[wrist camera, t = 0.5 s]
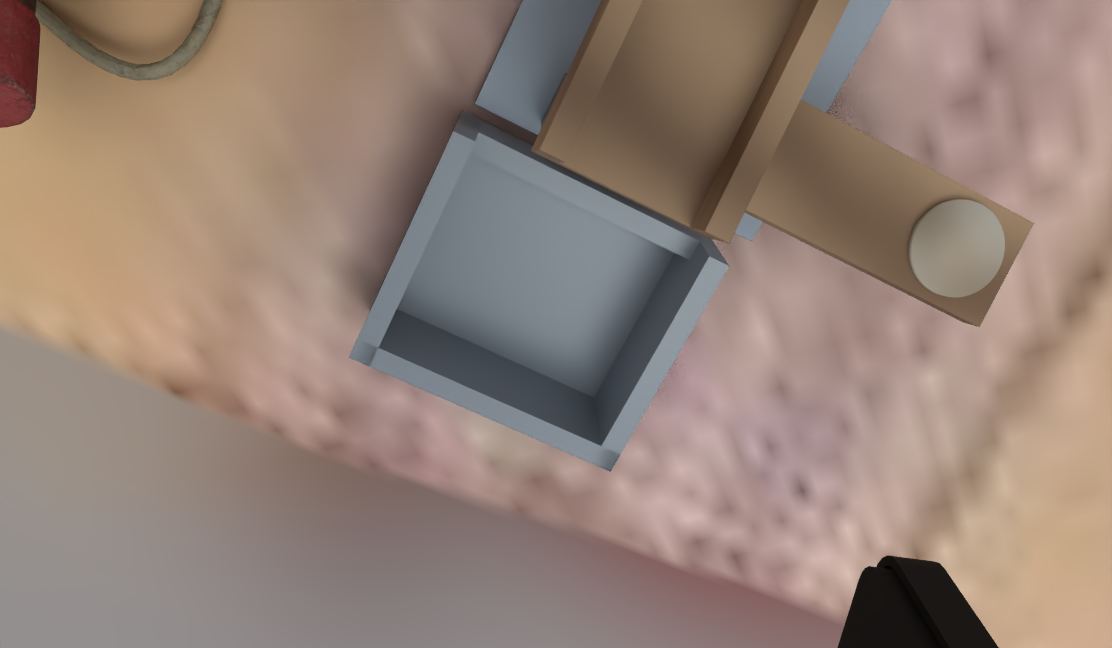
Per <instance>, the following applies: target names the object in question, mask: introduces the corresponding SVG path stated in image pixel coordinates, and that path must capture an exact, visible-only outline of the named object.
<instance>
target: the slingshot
mask: <svg viewBox="0 0 1112 648" xmlns="http://www.w3.org/2000/svg"><path fill="white" fill-rule="evenodd" d="M221 2H222V0H204V2H203V5H202V8H201V11H200V14H199V16H198V18H197V20H196V22H195V24H194V26H193V28H192V30H191V32H190V33H189V35H188V36H187V38H186V39H185V41H184V42H183V44H182V45H181V46H180V47H179V48H178V49H177V50H176V51H175V52H174V53H173V54H172V55H170V56H169V57H167V58H165V59H163V60H162V61H159V62H155V63H151V64H140V65H137V64H132V63H129V62H125V61H122V60H118V59H116V58H114V57H113V56H111V55H109V54H107V53H105V52H103V51H101V50H99V49H98V48H96V47H95V46H93V45H92V44H90V43H89V42H88V41H86V40H85V39H83V38H82V37H81V36H80V35H78V34H77V33H76V32H75V31H74V30H73V29H71V28H70V27H69V26H68V25H67V24H66V23H64V22H63V21H62V20H61V19H60V18H59V17H57V16H56V15H55V14H54V13H53V12H52V11H51V10H49V9H48V8H47V7H46V6H45V5H44V4H43V3H41V2H40V1H39V0H0V128H1V127H10V126H14V125H18V124H22V123H23V122H25V121H26V120H28V119H29V118H30V117H31V115H32V113H33V111H34V109H35V104H36V91H37V75H38V59H39V44H40V24H39V21H40V22H41V23H43V24H44V25H45V26H46V27H47V28H48V29H50V30H51V31H52V32H53V33H54V34H55V35H56V36H58V37H59V38H60V39H61V40H62V41H63V42H65V43H66V44H67V45H68V46H69V47H71V48H72V49H73V50H74V51H76V52H77V53H78V54H80V55H81V56H82V57H84V58H85V59H86V60H88V61H90V62H91V63H93V64H95V65H97V66H98V67H100V68H102V69H103V70H105V71H108V72H110V73H113V74H115V75H118V76H120V77H124V78H129V79H134V80H155V79H159V78H162V77H165V76H168V75H172V74H173V73H174V72H176V71H177V70H179V69H180V68H182V67H183V66H185V65H186V64H187V63H188V62H189V60H190V59H191V58H192V57H193V56H194V55H195V54H196V53H197V52H198V51H199V49H200V48H201V46H202V44H203V43H204V41H205V39H206V37H207V36H208V34H209V32H210V31H211V28H212V26H213V24H214V21H215V19H216V16H217V14H218V12H219V9H220V6H221ZM38 20H39V21H38Z"/></svg>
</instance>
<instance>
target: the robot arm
mask: <svg viewBox="0 0 1112 648" xmlns="http://www.w3.org/2000/svg"><path fill="white" fill-rule="evenodd" d="M838 648H998V646H997V645H996V643H995V642H994V640H993V639H992V637H991V636H990V634H989V633H988V631H987V630H986V629H985V627H984V626H983V624H982V623H981V621H980V620H979V618H978V617H977V615H976V614H975V612H974V611H973V610H972V608H971V607H970V605H969V604H968V602H967V601H966V599H965V598H964V596H963V595H962V593H961V592H960V591H959V589H958V588H957V586H956V585H955V583H954V582H953V580H952V579H951V577H950V576H949V574H948V573H947V572H946V570H945V569H944V567H943V566H942V565H941V564H940V563H937V562H933V561H926V560H918V559H910V558H903V557H895V556H886V557H883V558H882V559H881V560H880V562H879V563H878V565H877V567H871V566H869V567H867V568H865V569H864V570H863V572H862V574H861V576H860V578H859V581H858V584H857V588H856V591H855V594H854V597H853V600H852V604H851V607H850V610H849V613H848V616H847V619H846V623H845V626H844V629H843V632H842V635H841V639H840V642H839V645H838Z"/></svg>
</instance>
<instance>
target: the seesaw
mask: <svg viewBox="0 0 1112 648" xmlns="http://www.w3.org/2000/svg"><path fill="white" fill-rule="evenodd" d="M849 1H850V0H601V2H600V4H599V6H598V9H597V11H596V13H595V15H594V17H593V19H592V21H591V24H590V26H589V28H588V30H587V32H586V34H585V36H584V38H583V41H582V43H581V45H580V47H579V49H578V51H577V53H576V55H575V58H574V60H573V62H572V64H571V66H570V68H569V70H568V72H567V75H566V77H565V79H564V81H563V83H562V85H561V87H560V89H559V92H558V94H557V96H556V98H555V100H554V102H553V104H552V106H551V109H550V111H549V113H548V115H547V117H546V119H545V121H544V123H543V126H542V128H541V130H540V132H539V134H538V136H537V138H536V140H535V143H534V145H533V147H532V149H531V151H532V152H534V153H536V154H538V155H540V156H542V157H544V158H546V159H548V160H550V161H552V162H554V163H556V164H558V165H560V166H563V167H565V168H567V169H569V170H571V171H573V172H575V173H577V174H579V175H581V176H583V177H585V178H587V179H589V180H591V181H593V182H595V183H597V184H599V185H601V186H603V187H605V188H607V189H609V190H611V191H613V192H615V193H617V194H619V195H621V196H623V197H625V198H627V199H629V200H632V201H634V202H636V203H638V204H640V205H642V206H644V207H646V208H648V209H650V210H652V211H654V212H656V213H658V214H660V215H662V216H664V217H666V218H668V219H670V220H672V221H674V222H676V223H678V224H680V225H682V226H684V227H686V228H688V229H690V230H692V231H694V232H696V233H698V234H701V235H703V236H705V237H708V238H712V239H715V240H719V241H723V242H726V243H730V241H731V239H732V237H733V235H734V233H735V231H736V229H737V227H738V225H739V223H740V221H741V219H742V217H743V215H744V213H746V214H748V215H750V216H752V217H754V218H756V219H758V220H760V221H762V222H764V223H766V224H768V225H770V226H772V227H774V228H776V229H778V230H780V231H782V232H784V233H786V234H788V235H790V236H792V237H794V238H796V239H798V240H800V241H802V242H804V243H806V244H808V245H810V246H812V247H814V248H816V249H818V250H820V251H822V252H824V253H826V254H828V255H830V256H832V257H834V258H836V259H838V260H840V261H842V262H844V263H846V264H848V265H850V266H852V267H854V268H856V269H858V270H860V271H862V272H864V273H866V274H868V275H870V276H872V277H874V278H876V279H878V280H880V281H882V282H884V283H886V284H888V285H890V286H892V287H894V288H896V289H898V290H900V291H902V292H904V293H906V294H908V295H910V296H912V297H914V298H916V299H918V300H920V301H922V302H924V303H926V304H928V305H930V306H932V307H934V308H936V309H938V310H940V311H942V312H944V313H946V314H948V315H950V316H952V317H954V318H956V319H958V320H960V321H962V322H964V323H968V324H971V325H974V326H978V327H980V325H981V323H982V321H983V319H984V317H985V315H986V314H987V312H988V310H989V308H990V306H991V304H992V302H993V300H994V298H995V296H996V295H997V293H998V291H999V289H1000V287H1001V285H1002V283H1003V281H1004V279H1005V277H1006V275H1007V274H1008V272H1009V270H1010V268H1011V266H1012V264H1013V262H1014V260H1015V258H1016V256H1017V255H1018V253H1019V251H1020V249H1021V247H1022V245H1023V243H1024V241H1025V239H1026V237H1027V236H1028V234H1029V232H1030V230H1031V228H1032V226H1033V224H1034V223H1033V222H1031V221H1029V220H1027V219H1025V218H1024V217H1022V216H1020V215H1018V214H1016V213H1014V212H1012V211H1010V210H1008V209H1007V208H1005V207H1003V206H1001V205H999V204H997V203H995V202H993V201H992V200H990V199H988V198H986V197H984V196H982V195H980V194H978V193H976V192H975V191H973V190H971V189H969V188H967V187H965V186H963V185H961V184H960V183H958V182H956V181H954V180H952V179H950V178H948V177H946V176H944V175H943V174H941V173H939V172H937V171H935V170H933V169H931V168H929V167H927V166H926V165H924V164H922V163H920V162H918V161H916V160H914V159H912V158H911V157H909V156H907V155H905V154H903V153H901V152H899V151H897V150H895V149H894V148H892V147H890V146H888V145H886V144H884V143H882V142H880V141H879V140H877V139H875V138H873V137H871V136H869V135H867V134H865V133H863V132H862V131H860V130H858V129H856V128H854V127H852V126H850V125H848V124H846V123H845V122H843V121H841V120H839V119H837V118H835V117H833V116H831V115H830V114H828V113H826V112H824V111H822V110H820V109H818V108H816V107H814V106H813V105H811V104H809V103H807V102H805V101H803V100H801V98H802V96H803V94H804V92H805V90H806V88H807V86H808V84H809V82H810V80H811V78H812V76H813V74H814V72H815V70H816V68H817V66H818V63H819V61H820V59H821V57H822V55H823V53H824V51H825V49H826V47H827V45H828V43H829V41H830V39H831V37H832V35H833V33H834V31H835V29H836V27H837V25H838V23H839V21H840V19H841V17H842V15H843V13H844V11H845V9H846V7H847V5H848V3H849Z"/></svg>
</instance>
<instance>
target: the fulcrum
mask: <svg viewBox="0 0 1112 648" xmlns="http://www.w3.org/2000/svg"><path fill="white" fill-rule="evenodd" d="M891 1H892V0H850V1H849V3H848V5H847V7H846V9H845V11H844V13H843V15H842V17H841V19H840V21H839V23H838V25H837V27H836V29H835V31H834V33H833V35H832V37H831V39H830V41H829V43H828V45H827V47H826V49H825V51H824V53H823V55H822V57H821V59H820V61H819V63H818V66H817V68H816V70H815V72H814V74H813V76H812V78H811V80H810V82H809V84H808V86H807V88H806V90H805V92H804V94H803V96H802V98H801V100H803V101H805V102H807V103H809V104H811V105H813V106H814V107H816V108H818V109H820V110H822V111H824V112H826V113H827V111H828V109H829V107H830V106H831V104H832V102H833V101H834V99H835V97H836V95H837V94H838V92H839V90H840V88H841V87H842V85H843V83H844V82H845V80H846V78H847V76H848V75H849V73H850V71H851V70H852V68H853V66H854V64H855V63H856V61H857V59H858V57H859V56H860V54H861V52H862V51H863V49H864V47H865V45H866V44H867V42H868V40H869V39H870V37H871V35H872V33H873V32H874V30H875V28H876V26H877V25H878V23H879V21H880V20H881V18H882V16H883V14H884V13H885V11H886V9H887V8H888V6H889V4H890V2H891ZM600 2H601V0H523V1H522V3H521V5H520V7H519V10H518V12H517V14H516V16H515V18H514V20H513V22H512V25H511V27H510V29H509V31H508V33H507V35H506V38H505V40H504V42H503V44H502V46H501V48H500V50H499V53H498V55H497V57H496V59H495V61H494V63H493V66H492V68H491V70H490V72H489V74H488V76H487V78H486V81H485V83H484V85H483V87H482V89H481V91H480V94H479V96H478V98H477V100H476V102H475V104H476V105H478V106H480V107H482V108H484V109H486V110H488V111H490V112H492V113H494V114H496V115H498V116H500V117H502V118H504V119H506V120H508V121H510V122H512V123H514V124H516V125H518V126H520V127H522V128H524V129H526V130H528V131H530V132H532V133H534V134H536V135H538V134H539V132H540V130H541V128H542V126H543V123H544V121H545V119H546V117H547V115H548V113H549V111H550V109H551V106H552V104H553V102H554V100H555V98H556V96H557V94H558V92H559V89H560V87H561V85H562V83H563V81H564V79H565V77H566V75H567V72H568V70H569V68H570V66H571V64H572V62H573V60H574V58H575V55H576V53H577V51H578V49H579V47H580V45H581V43H582V41H583V38H584V36H585V34H586V32H587V30H588V28H589V26H590V24H591V21H592V19H593V17H594V15H595V13H596V11H597V9H598V6H599V4H600ZM762 223H763V222H762V221H760V220H758V219H756V218H754V217H752V216H750V215H748V214H746V213H744V215H743V217H742V219H741V221H740V223H739V225H738V227H737V229H736V231H735V233H736V234H738V235H740V236H742V237H744V238H746V239H748V240H750V241H752V240H753V238H754V236H755V235H756V233H757V231H758V230H759V228H760V226H761V224H762Z"/></svg>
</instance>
